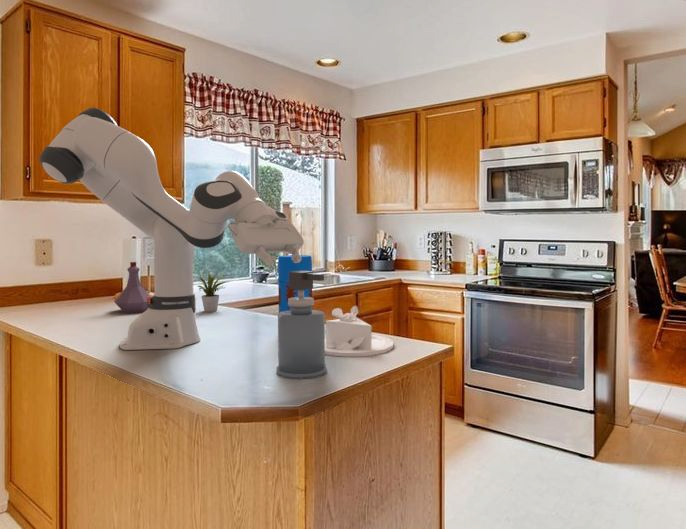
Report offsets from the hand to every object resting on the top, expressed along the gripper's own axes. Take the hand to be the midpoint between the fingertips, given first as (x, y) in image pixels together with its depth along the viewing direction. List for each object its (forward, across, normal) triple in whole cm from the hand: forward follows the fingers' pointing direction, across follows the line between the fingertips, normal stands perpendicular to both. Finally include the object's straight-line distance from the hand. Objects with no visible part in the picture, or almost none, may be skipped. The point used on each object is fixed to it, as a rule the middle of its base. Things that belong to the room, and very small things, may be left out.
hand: (285, 262), depth 124 cm
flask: (-57, +25, +95) cm, 113 cm away
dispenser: (+22, -1, +14) cm, 27 cm away
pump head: (+11, -1, 0) cm, 12 cm away
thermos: (+1, +31, +36) cm, 47 cm away
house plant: (-39, +42, +76) cm, 95 cm away
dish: (+18, +27, +18) cm, 38 cm away
